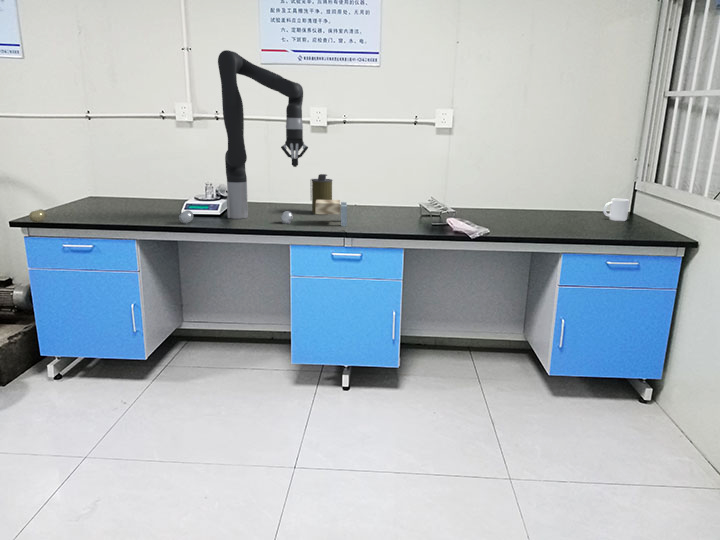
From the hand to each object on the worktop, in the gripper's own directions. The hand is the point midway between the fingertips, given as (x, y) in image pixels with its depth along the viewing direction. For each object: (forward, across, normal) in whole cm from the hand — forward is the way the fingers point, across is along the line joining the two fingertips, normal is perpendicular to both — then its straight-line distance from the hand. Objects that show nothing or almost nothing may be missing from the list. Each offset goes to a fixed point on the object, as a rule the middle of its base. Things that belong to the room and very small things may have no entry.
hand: (294, 166), depth 259 cm
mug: (+25, -159, -8) cm, 161 cm away
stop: (+25, -23, +8) cm, 35 cm away
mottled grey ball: (+25, +4, +8) cm, 27 cm away
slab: (+20, -15, +8) cm, 26 cm away
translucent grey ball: (+20, +51, +8) cm, 55 cm away
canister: (+25, -12, -18) cm, 33 cm away
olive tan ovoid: (+25, +114, +8) cm, 117 cm away
